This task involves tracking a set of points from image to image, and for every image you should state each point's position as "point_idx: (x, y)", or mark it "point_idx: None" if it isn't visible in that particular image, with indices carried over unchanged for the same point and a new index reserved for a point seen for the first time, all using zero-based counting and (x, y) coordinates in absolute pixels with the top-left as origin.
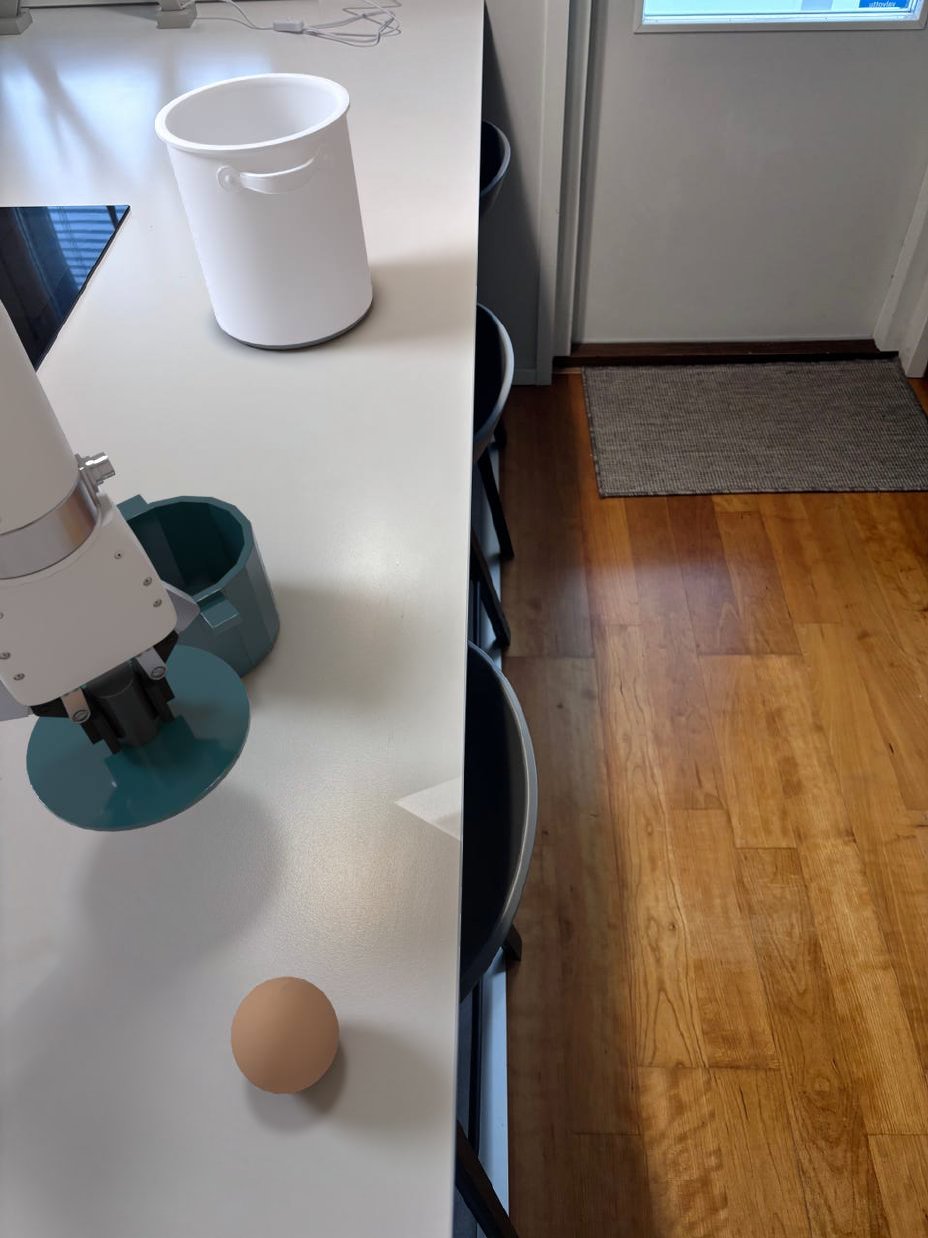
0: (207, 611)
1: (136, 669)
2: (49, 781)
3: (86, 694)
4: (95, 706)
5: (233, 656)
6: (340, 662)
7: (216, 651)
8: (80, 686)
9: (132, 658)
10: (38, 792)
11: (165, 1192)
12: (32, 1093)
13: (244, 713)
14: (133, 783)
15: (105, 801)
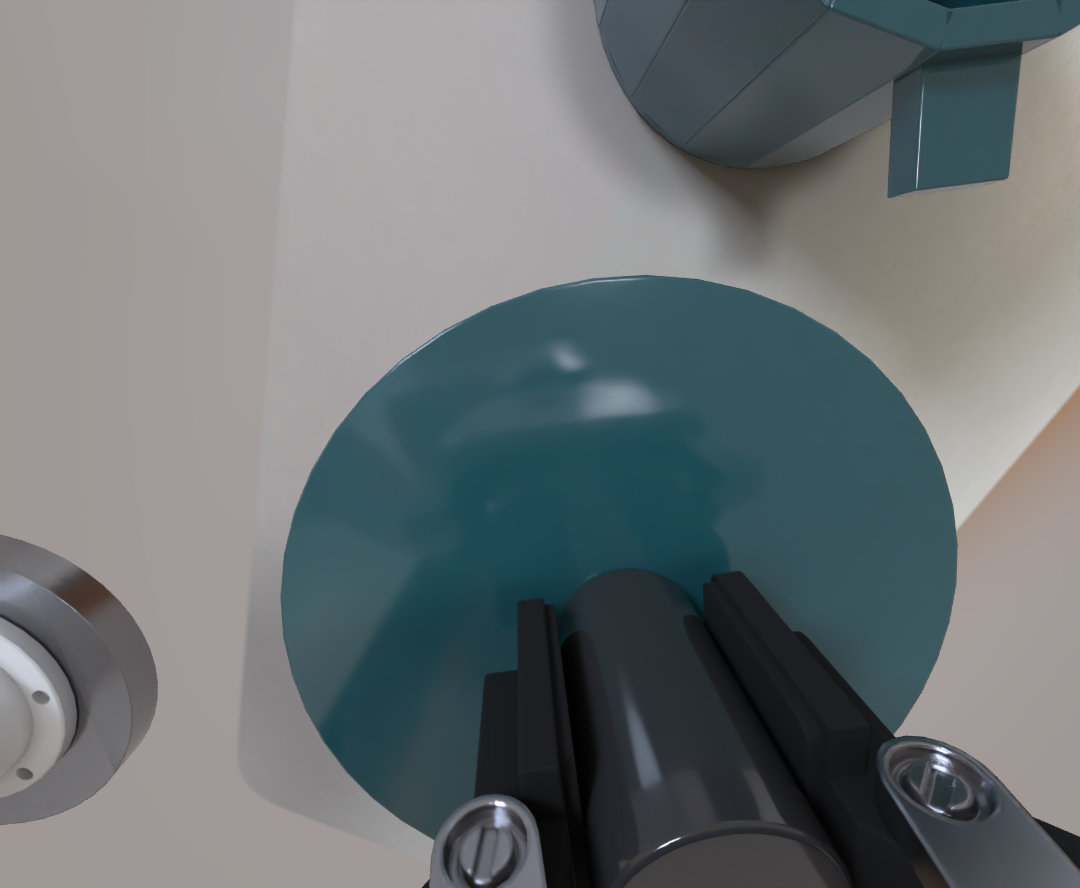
0: (941, 100)
1: (821, 793)
2: (341, 671)
3: (566, 809)
4: (582, 882)
5: (810, 146)
6: (940, 250)
7: (803, 137)
8: (557, 773)
9: (871, 838)
10: (306, 690)
11: (394, 823)
12: (269, 684)
13: (891, 718)
14: None
15: (473, 793)
